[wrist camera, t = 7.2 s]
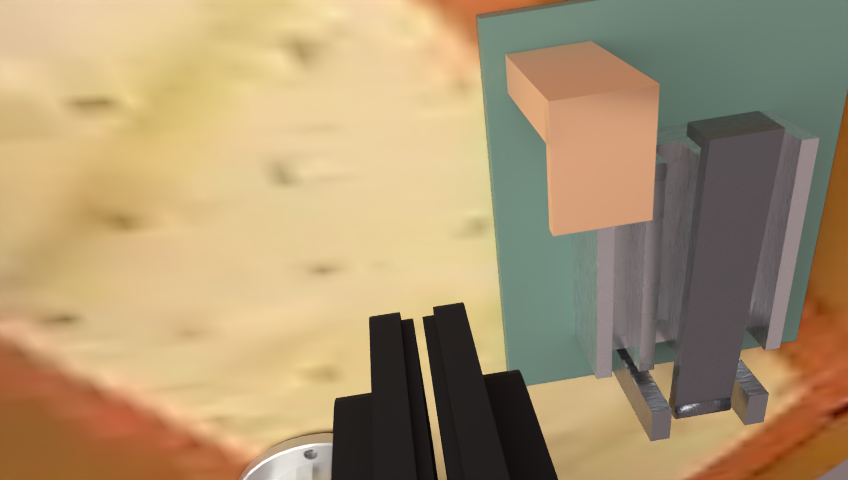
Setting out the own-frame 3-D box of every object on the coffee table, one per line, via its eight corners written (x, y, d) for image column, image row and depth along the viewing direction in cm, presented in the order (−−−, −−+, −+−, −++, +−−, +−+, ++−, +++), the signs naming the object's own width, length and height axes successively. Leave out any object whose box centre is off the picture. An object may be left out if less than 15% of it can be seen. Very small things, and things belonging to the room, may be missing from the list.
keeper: (591, 152, 31) (652, 220, 25) (512, 165, 31) (553, 236, 25) (591, 40, 29) (659, 83, 22) (505, 54, 29) (548, 101, 22)
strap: (711, 384, 35) (731, 414, 33) (658, 393, 35) (675, 423, 33) (758, 110, 26) (789, 130, 24) (687, 122, 26) (713, 142, 24)
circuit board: (786, 330, 40) (796, 340, 39) (507, 377, 40) (510, 388, 39) (859, -45, 29) (874, -43, 28) (476, 14, 29) (479, 18, 28)
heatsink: (735, 338, 38) (800, 415, 33) (574, 365, 38) (612, 447, 33) (767, 110, 31) (859, 158, 26) (570, 142, 31) (618, 197, 25)
